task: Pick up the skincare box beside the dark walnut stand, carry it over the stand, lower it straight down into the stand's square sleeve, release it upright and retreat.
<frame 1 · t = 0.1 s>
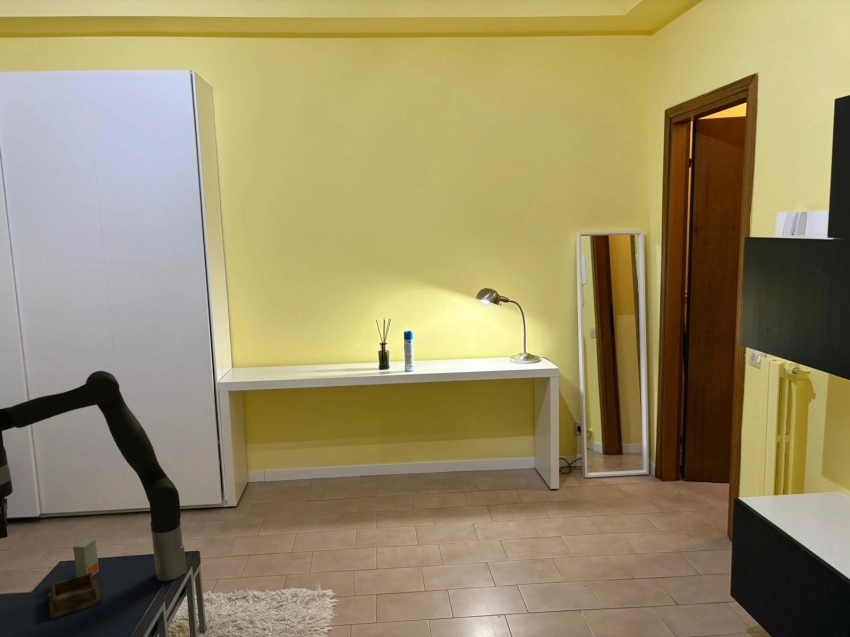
hand: (3, 531, 192), 29 cm above the table, fingers open, 8 cm apart
skincare box: (88, 575, 221), on the table
walnut stand: (74, 599, 206), on the table
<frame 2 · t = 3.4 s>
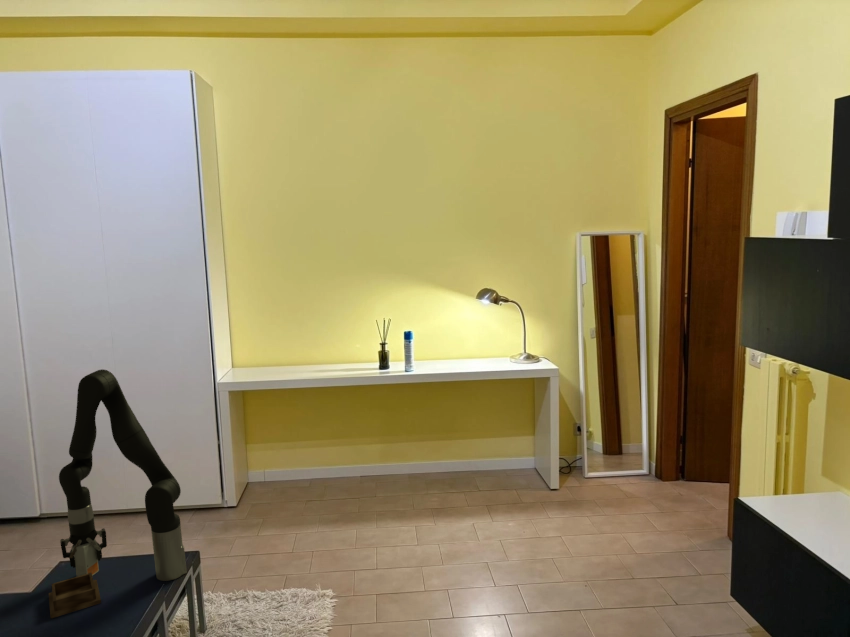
hand: (86, 563, 220), 4 cm above the table, fingers closed on skincare box, 7 cm apart
skincare box: (88, 575, 221), on the table, touching gripper
when the fingers open (7 cm above the table, at t = 9.7 s): skincare box drops 1 cm, resting on walnut stand.
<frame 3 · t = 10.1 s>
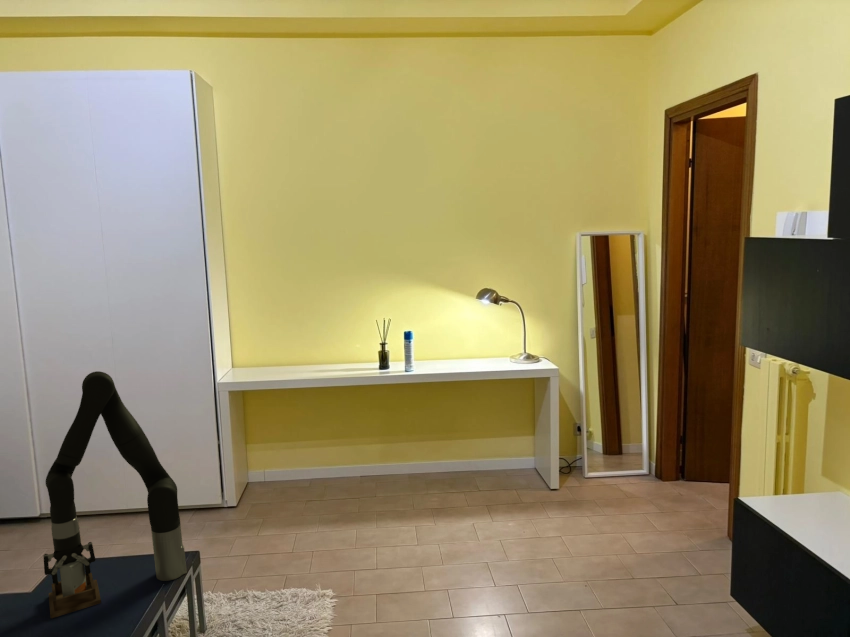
hand: (72, 579, 205), 7 cm above the table, fingers open, 8 cm apart
skincare box: (75, 596, 206), point 1 cm above the table, touching walnut stand
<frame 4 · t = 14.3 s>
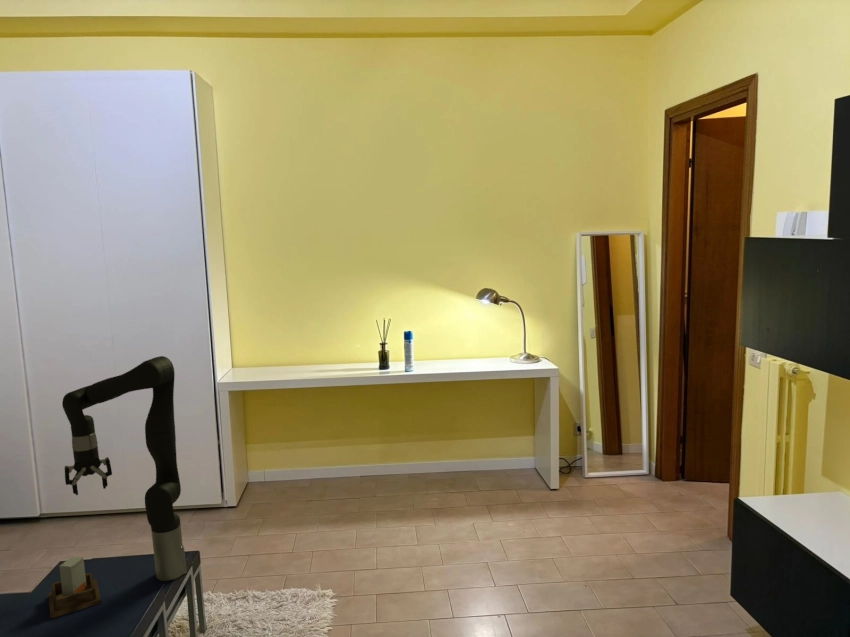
hand: (90, 491, 222), 28 cm above the table, fingers open, 8 cm apart
nothing on the table moved.
at the end: skincare box 0.4 cm off-centre on the walnut stand, point 1.0 cm above the walnut stand's base; skincare box tilted 0°; the gripper is holding nothing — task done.
